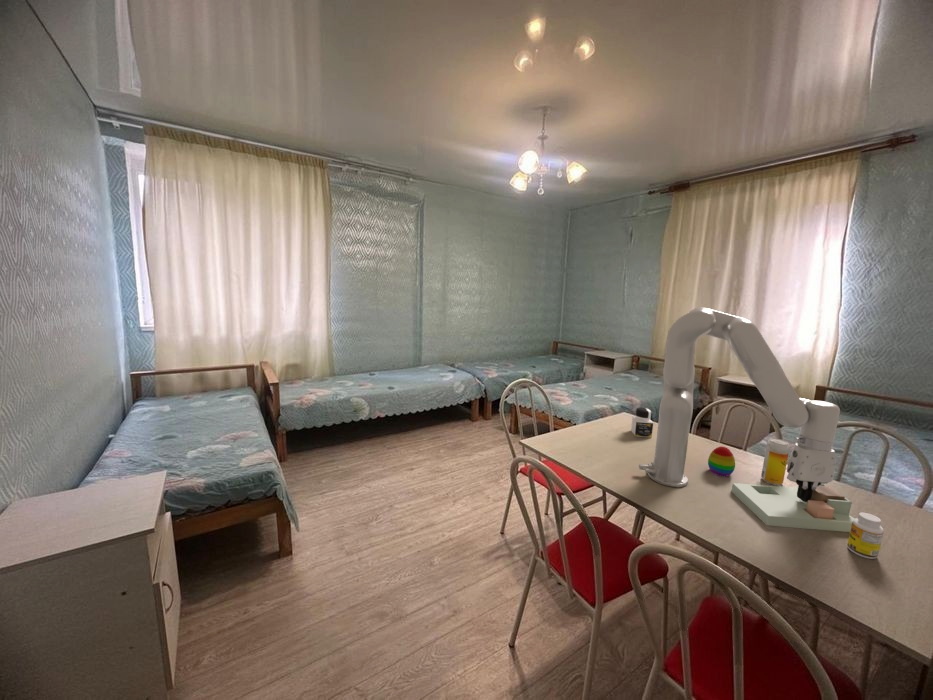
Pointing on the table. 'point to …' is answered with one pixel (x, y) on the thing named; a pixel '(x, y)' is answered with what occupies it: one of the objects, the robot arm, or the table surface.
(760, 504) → the board
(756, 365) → the robot arm
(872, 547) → the supplement bottle
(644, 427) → the medicine bottle
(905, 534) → the table surface
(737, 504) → the table surface
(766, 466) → the pill bottle
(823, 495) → the walnut block
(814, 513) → the terracotta block
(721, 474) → the decorative egg
